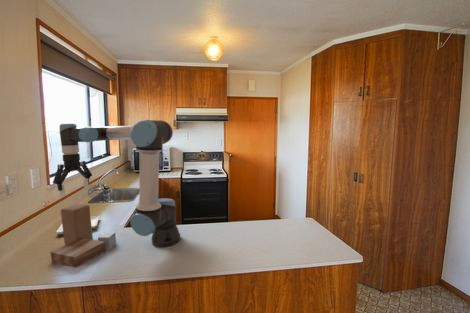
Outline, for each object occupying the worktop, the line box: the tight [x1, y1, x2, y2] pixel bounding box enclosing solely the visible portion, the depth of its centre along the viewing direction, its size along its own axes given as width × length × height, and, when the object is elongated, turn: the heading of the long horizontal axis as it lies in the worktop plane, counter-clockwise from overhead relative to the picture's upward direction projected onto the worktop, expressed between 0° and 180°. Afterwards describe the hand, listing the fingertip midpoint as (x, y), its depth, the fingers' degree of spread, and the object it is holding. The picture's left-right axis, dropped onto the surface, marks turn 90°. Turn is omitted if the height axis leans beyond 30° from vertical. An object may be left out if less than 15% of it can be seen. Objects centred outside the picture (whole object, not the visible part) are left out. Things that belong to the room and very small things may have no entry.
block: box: [60, 203, 94, 245], centre depth 139 cm, size 10×10×20 cm
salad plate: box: [55, 215, 101, 235], centre depth 160 cm, size 21×21×3 cm
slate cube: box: [97, 231, 117, 249], centre depth 134 cm, size 6×6×6 cm
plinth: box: [50, 238, 107, 269], centre depth 123 cm, size 16×16×5 cm
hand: (75, 193), depth 135 cm, fingers open, 13 cm apart
